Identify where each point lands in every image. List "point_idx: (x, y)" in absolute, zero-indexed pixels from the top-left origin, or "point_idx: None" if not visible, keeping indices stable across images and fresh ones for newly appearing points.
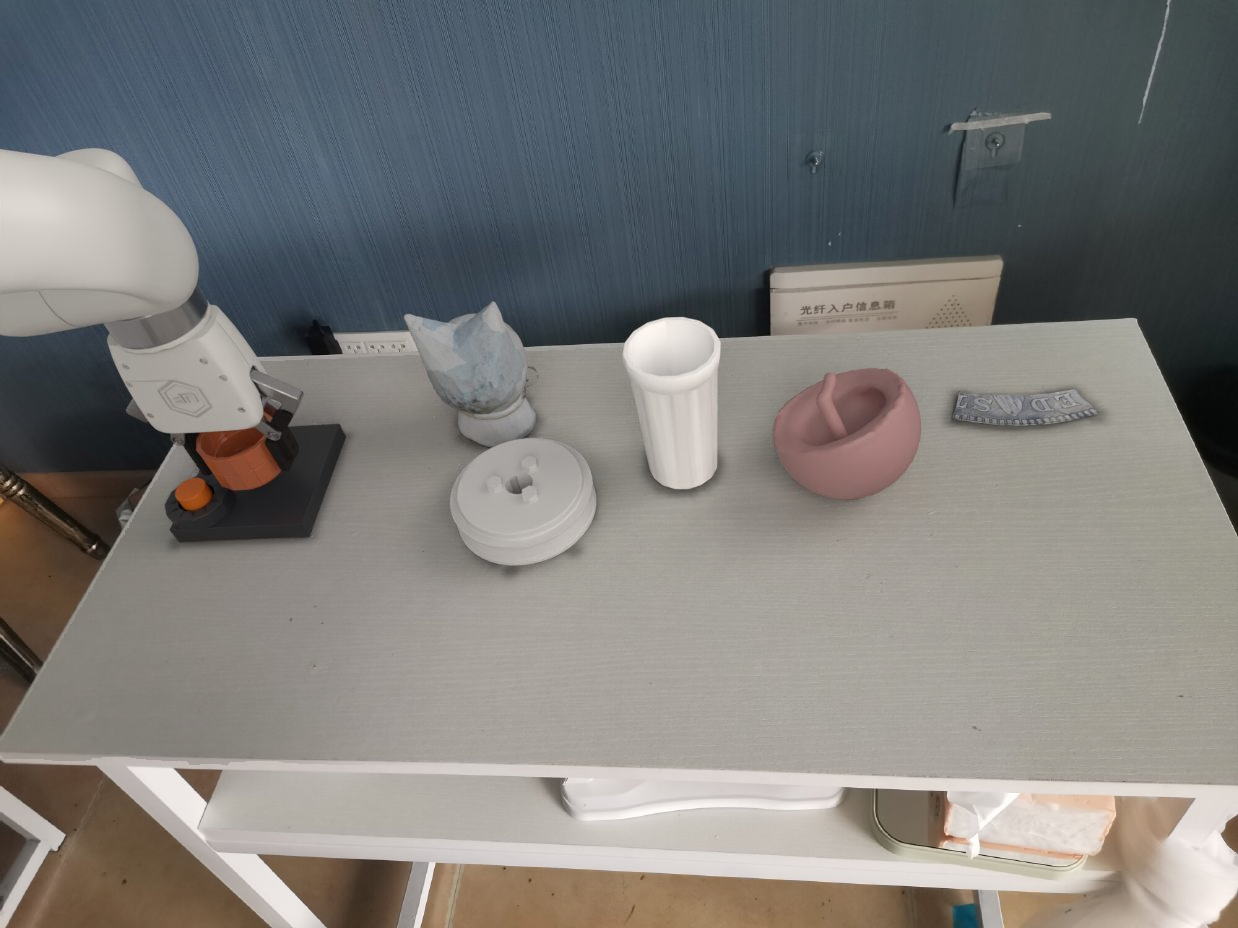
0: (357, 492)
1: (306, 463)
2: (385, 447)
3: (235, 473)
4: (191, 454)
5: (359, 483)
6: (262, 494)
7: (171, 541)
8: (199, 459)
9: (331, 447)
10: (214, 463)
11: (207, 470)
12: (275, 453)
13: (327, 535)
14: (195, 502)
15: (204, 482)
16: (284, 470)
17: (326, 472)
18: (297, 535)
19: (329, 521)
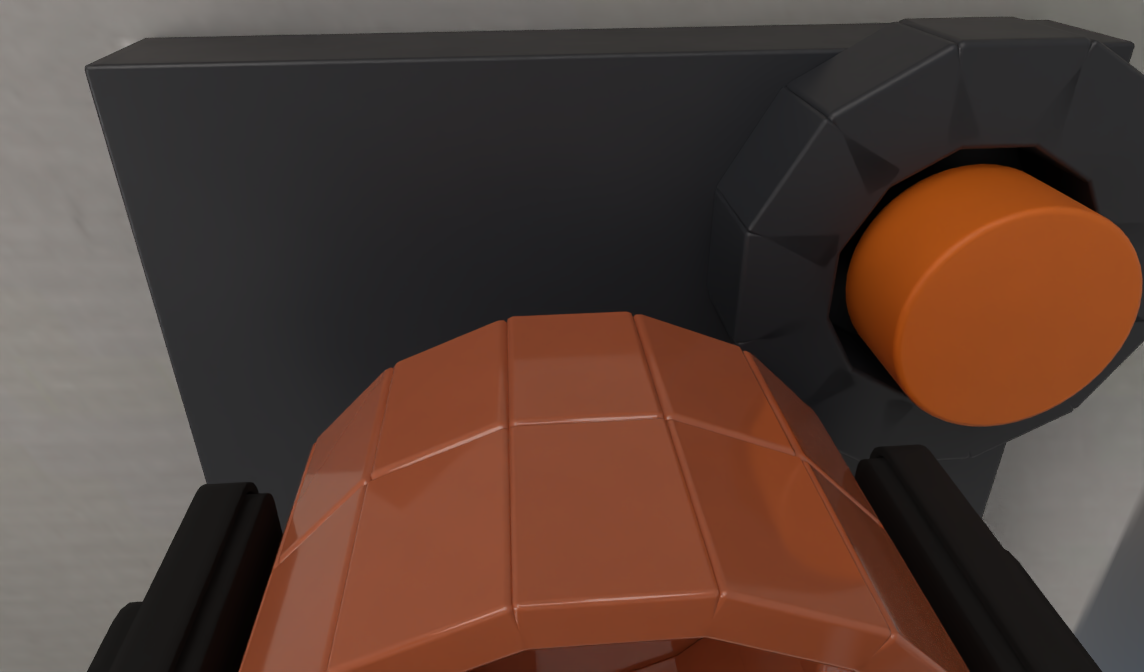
0: (30, 372)
1: None
2: (56, 621)
3: (519, 442)
4: (1044, 643)
5: (58, 428)
6: None
7: (1099, 31)
8: (960, 583)
9: None
10: (720, 558)
11: (890, 482)
12: (125, 665)
13: (21, 49)
14: (954, 208)
15: (905, 384)
16: (221, 489)
17: None
18: (213, 38)
19: (80, 167)
